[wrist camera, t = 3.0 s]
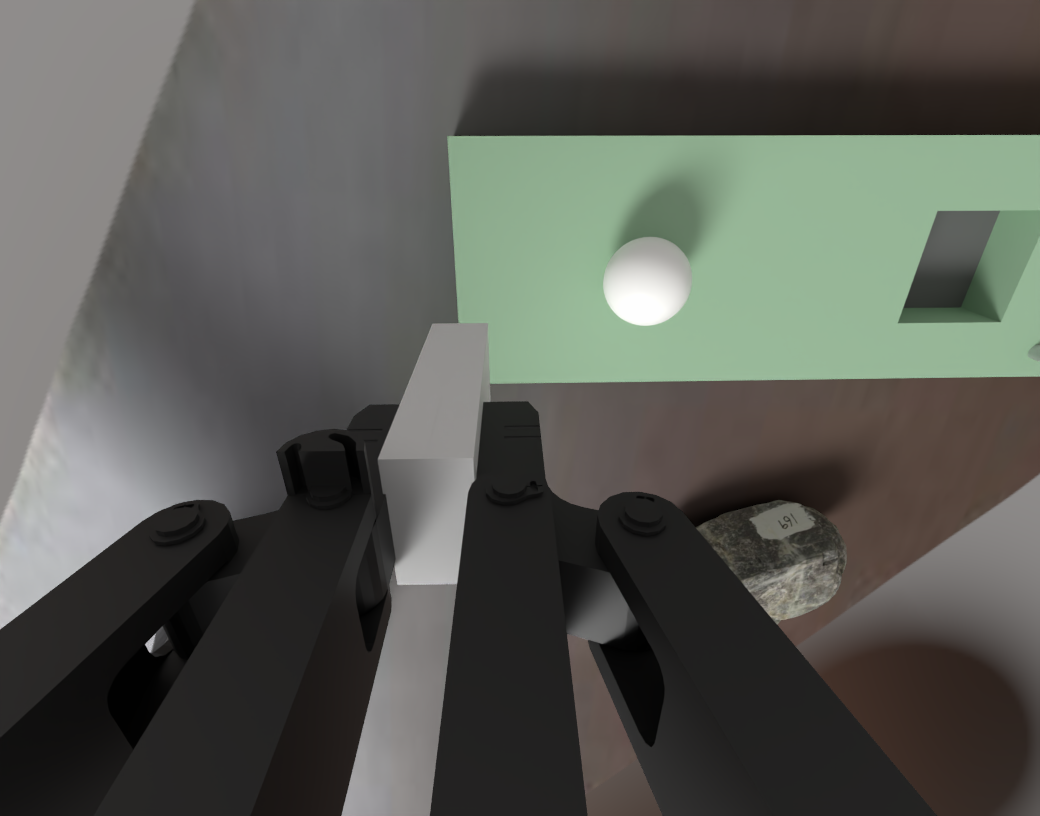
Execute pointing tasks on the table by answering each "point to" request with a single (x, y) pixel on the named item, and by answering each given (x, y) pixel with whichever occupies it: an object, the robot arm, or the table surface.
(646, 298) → the ball
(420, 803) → the table surface
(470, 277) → the green
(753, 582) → the stone
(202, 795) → the robot arm
